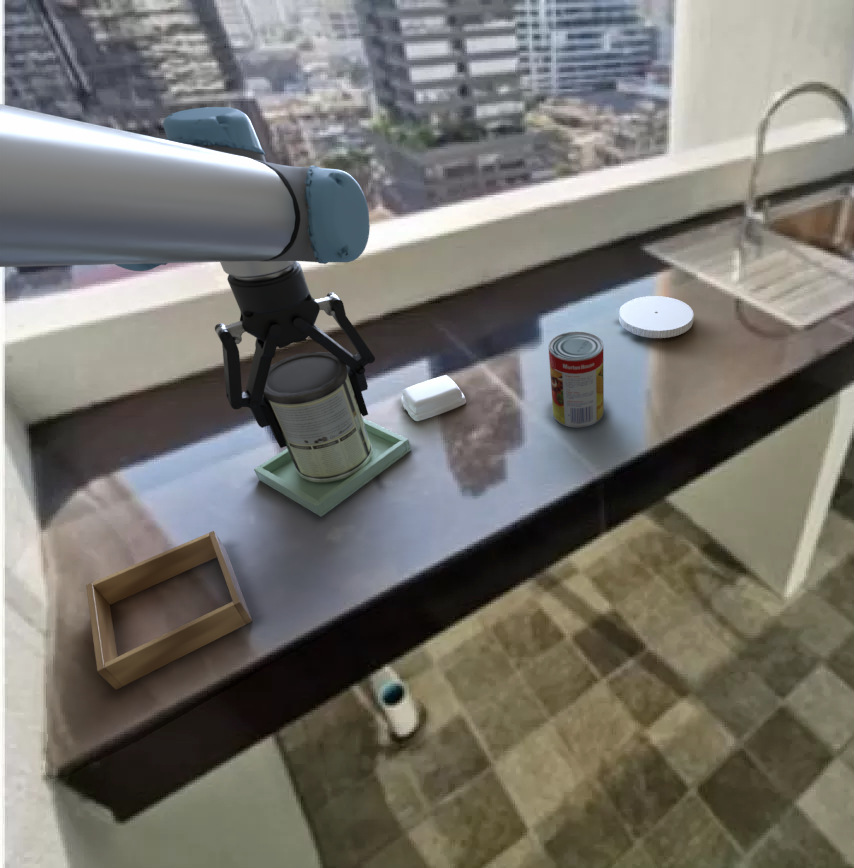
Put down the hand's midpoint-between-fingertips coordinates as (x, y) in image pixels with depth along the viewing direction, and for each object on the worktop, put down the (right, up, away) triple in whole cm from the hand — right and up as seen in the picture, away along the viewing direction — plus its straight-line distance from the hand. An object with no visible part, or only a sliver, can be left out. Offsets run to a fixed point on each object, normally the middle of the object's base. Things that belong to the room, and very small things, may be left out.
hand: (322, 425), depth 80 cm
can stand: (-9, -21, -14) cm, 27 cm away
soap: (+11, +4, +16) cm, 19 cm away
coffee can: (0, -5, +4) cm, 6 cm away
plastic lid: (+48, +20, +35) cm, 62 cm away
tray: (0, -5, +4) cm, 7 cm away
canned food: (+34, +2, +14) cm, 36 cm away
